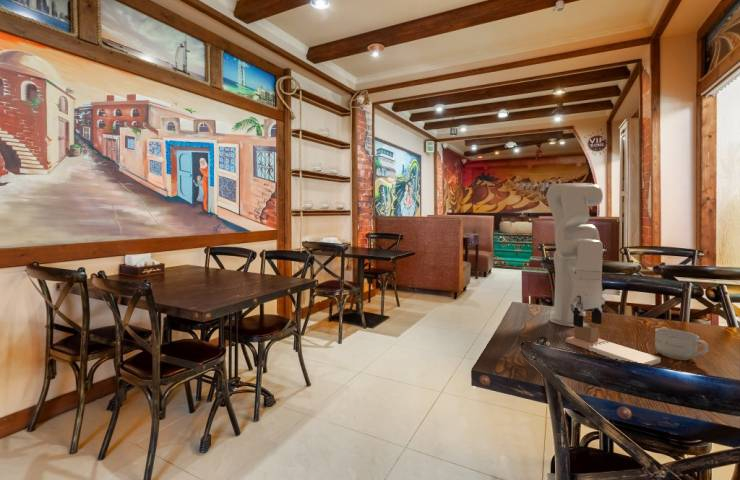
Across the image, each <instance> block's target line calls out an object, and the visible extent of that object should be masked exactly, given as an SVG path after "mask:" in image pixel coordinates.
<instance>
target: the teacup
mask: <svg viewBox="0 0 740 480" xmlns="http://www.w3.org/2000/svg"><path fill="white" fill-rule="evenodd" d="M654 330H655V333H654V335H655V336H654V346H655V348H656V350H657V351H658V352H659V354H661V355H662V356H664V357H667V358H670V359H674V360H679V361H688V360H690V359H693V358H697V357H698V356H703V355H705V354H707V353H708V352H709V351H710V350H709V349H710V348H709V347H710V346H709V344H708V343H707V342H706V341H704V340H703V339H702V340H701V339H700V336H699V335H697V334H696V333H695V334H694V333H692V332H689V331H683V330H680V329H673V328H662V327H661V328H655V329H654ZM699 344H701V346H702V348H703V349H702V350H701V351H699Z"/></svg>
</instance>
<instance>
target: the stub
mask: <svg viewBox="0 0 740 480" xmlns="http://www.w3.org/2000/svg"><path fill="white" fill-rule="evenodd" d="M599 331H600V329H599V326H597V325H593V324H589V323H586V322H584V323H583V327H578V326H575V327H574V331H573V334H574V335H573V336H569V337H566V338H565V342H566V343H567V344H571V345H573V346H574V345H575V346H577V347H580V348H583V349H585V350H589V346H590V345H594V344H598V343H602V342H606V341H607V340H605V339H602V338H599Z"/></svg>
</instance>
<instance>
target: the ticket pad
mask: <svg viewBox="0 0 740 480" xmlns="http://www.w3.org/2000/svg"><path fill="white" fill-rule="evenodd" d="M588 351H590V352H592V351H593V353H595V352H596V354H598V355H601V356H605V357H607V358H610V359H613V360H615V359H618V360H625V361H630V362H637V363H642V364H649V365H651V366H653V365H654V366H655V365H656V364H657V365H658V364H660V363H661V361H662V360H661V359H662V357H661V356H657V355H654V354H650V353H646V352H643V351H640V350H637V349H634V348H630V347H627V346H625V345H624V346H623V345H620V344H617V343H614V342H611V341H607V340H606V342H602V343H598V344H594V345H590V346H589V349H588ZM618 360H617V361H618Z"/></svg>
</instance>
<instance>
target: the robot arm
mask: <svg viewBox="0 0 740 480" xmlns="http://www.w3.org/2000/svg"><path fill="white" fill-rule="evenodd" d="M546 193H547V194H546V198H547V199H546V200H547V201H546V202H547V204H548V205H547V206H548V207H549V210H550V212H551V215H552V217H553V224H554V225H553V226H554V243H555V244H554V245H555V249H556V250H554V253H553V264H554V304H553V305H554V306H553V308H554V309H553V313H554V314H553V316H550V317H549V321H550V322H551V323H553V324H556V325H559V326H564V327H573V328H575V326H578V327H583V323H585V321H584V317H586V316H587V313H586V311H587V310H591V318H590V319H591V323H594V324H597V325H601V324H602V318H603V317H602V316H603V315H602V314H603V312H604V311H603V309H604V307H605V302H606V299H605V298H604V297H603V285H602V280H603V279H602V277H603V276H602V275H603V274H602V273H603V264H604V263H603V250H604V249H603V248H604V247H603V242H602V241H601V238H600V232H599V230H598V228H597V226H595V225H594V224H589V223H587V222H588V221H589V220H590V217H591V215H590V211H589V208H588V207H590V206H591V207H595V206H599V205H601V203H602V201H603V198H604V197H603V196H604V194H603V190H602V188H601V186H599V185H598V184H595V183H591V182H573V183H571V182H569V183H567V182H566V183H564V182H563V183H556V184H553V185H551V186H549V187H548V190H547V192H546ZM575 271H576V272H575ZM585 310H586V311H585Z"/></svg>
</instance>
